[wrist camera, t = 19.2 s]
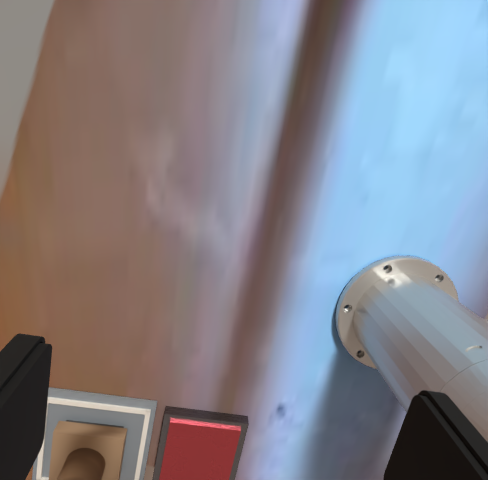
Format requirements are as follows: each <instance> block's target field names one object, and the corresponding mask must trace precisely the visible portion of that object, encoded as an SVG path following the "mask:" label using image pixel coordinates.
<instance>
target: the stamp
mask: <svg viewBox="0 0 488 480" xmlns="http://www.w3.org/2000/svg"><path fill="white" fill-rule="evenodd" d="M126 435H127V428H124V426H116V425H108V424H99V423H90V422H82V421H73V420H66V421H59V422H58V424H57V426H56V427H55V429H54V431H53V439H52V449H51V460H50V470H49V480H120V474H121V468H122V461H123V455H124V448H125V442H126Z"/></svg>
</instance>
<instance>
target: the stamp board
mask: <svg viewBox="0 0 488 480" xmlns="http://www.w3.org/2000/svg"><path fill="white" fill-rule="evenodd" d="M156 405H157V401H153V400H145V399H137V398H129V397H122V396H114V395H106V394H98V393H90V392H82V391H74V390H66V389H58V388H50V387H49V389H48V400H47V412H46V423H45V435H44V440H43V444H42V447H41V450H40V452H39V454H38V456H37V458H36V460H35V462H34V464H33V476H32V480H49V470H50V460H51V449H52V439H53V431H54V429H55V427H56V426H57V424H58V422H59V421H66V420H73V421H82V422H90V423H99V424H108V425H116V426H124V428H127V435H126V442H125V448H124V455H123V461H122V468H121V474H120V480H144V474H145V468H146V463H147V457H148V451H149V446H150V440H151V434H152V428H153V423H154V417H155V411H156Z"/></svg>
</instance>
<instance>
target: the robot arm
mask: <svg viewBox="0 0 488 480" xmlns="http://www.w3.org/2000/svg"><path fill="white" fill-rule="evenodd" d="M385 266H386V267H385ZM384 267H385V268H384ZM346 305H347V306H346ZM345 306H346V307H345ZM335 318H336V328H337V332H338V335H339V338H340V340H341V342H342V344H343V345H344V347H345V348H346V350H347V351H348V353H349V354H350V355H351V356H352V357H353V358H354V359H356V360H357V361H359V362H360V363H362V364H364V365H366V366H368V367H371V368H374V369H378V371H379V372H380V374H381V375H382V377H383V378H384V380H385V382H386V383H387V385H388V386H389V388H390V389H391V391H392V392H393V394H394V395H395V397H396V398H397V400H398V401H399V403H400V404H401V406H402V407H403V409H404V410H405V412H406V413H407V414H406V416H405V419H404V422H403V424H402V427H401V430H400V433H399V435H398V438H397V441H396V443H395V446H394V449H393V451H392V454H391V457H390V459H389V462H388V465H387V468H386V470H385V473H384V480H488V320H487V319H482V318H480V317H479V316H477V315H476V314H475V313H473V312H472V311H471V310H469V309H468V308H467V307H465V306H464V305H462V304H461V303H460V302H459V301H458V295H457V291H456V289H455V286H454V284H453V282H452V281H451V279H450V278H449V277H448V275H447V274H446V273H445V272H444V271H443V270H441V269H440V268H439V267H438V266H436V265H434V264H433V263H431V262H429V261H427V260H424V259H422V258H419V257H414V256H393V257H388V258H384V259H381V260H379V261H376V262H373V263H372V264H370V265H368V266H367V267H365V268H363V269H362V270H361V271H360V272H359V273H357V274H356V275H355V276H354V277H353V278H352V279H351V281H350V282H349V283H348V284H347V285H346V287H345V289H344V290H343V292H342V294H341V296H340V299H339V302H338V304H337V309H336V316H335ZM51 355H52V346H51V344H45V339H44V337H40V336H33V335H26V334H17V335H16V336H15V337H14V338H13V339H12V340H11V341H10V342H9V343H8V344H7V345H6V346H5V347H4V348H3V349H2V350H1V352H0V480H25V479H26V477H27V475H28V473H29V471H30V469H31V467H32V466H33V464H34V462H35V460H36V458H37V456H38V454H39V452H40V450H41V447H42V444H43V440H44V435H45V423H46V412H47V400H48V389H49V378H50V366H51Z"/></svg>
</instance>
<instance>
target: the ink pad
mask: <svg viewBox="0 0 488 480" xmlns="http://www.w3.org/2000/svg"><path fill="white" fill-rule="evenodd" d="M247 428H248V416H241V415H233V414H225V413H217V412H209V411H201V410H193V409H185V408H177V407H169V406H166V408H165V414H164V419H163V425H162V430H161V436H160V441H159V447H158V452H157V458H156V463H155V469H154V474H153V480H235V476H236V472H237V468H238V464H239V460H240V456H241V452H242V448H243V444H244V440H245V436H246V432H247Z"/></svg>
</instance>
